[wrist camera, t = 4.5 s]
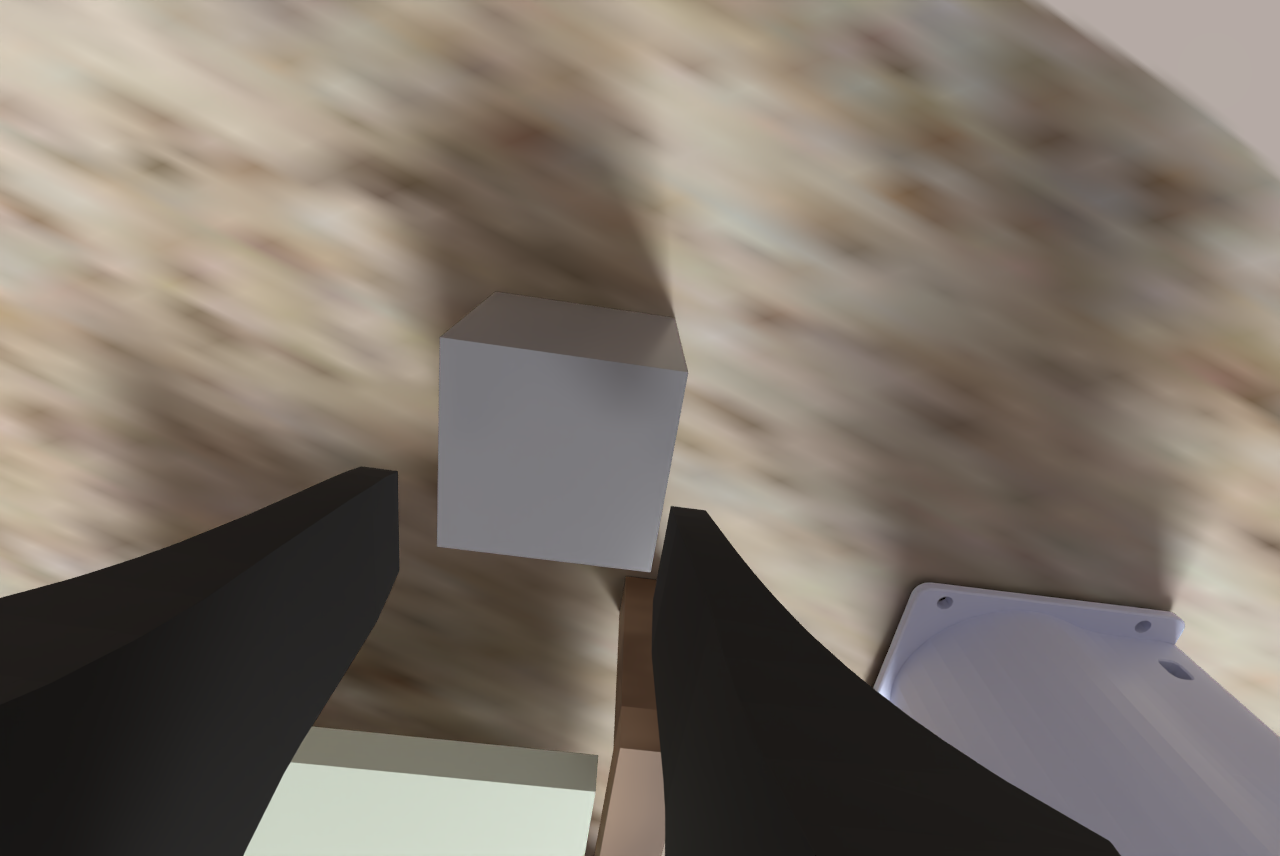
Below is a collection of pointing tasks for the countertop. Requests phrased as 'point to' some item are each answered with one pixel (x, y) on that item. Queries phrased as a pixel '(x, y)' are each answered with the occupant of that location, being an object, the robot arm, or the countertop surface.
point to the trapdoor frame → (634, 738)
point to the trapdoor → (426, 799)
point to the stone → (557, 430)
